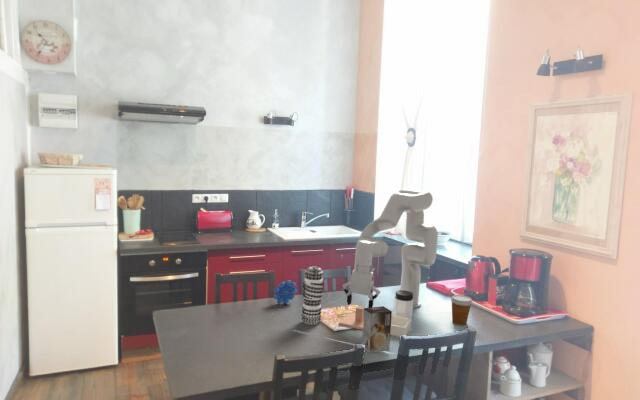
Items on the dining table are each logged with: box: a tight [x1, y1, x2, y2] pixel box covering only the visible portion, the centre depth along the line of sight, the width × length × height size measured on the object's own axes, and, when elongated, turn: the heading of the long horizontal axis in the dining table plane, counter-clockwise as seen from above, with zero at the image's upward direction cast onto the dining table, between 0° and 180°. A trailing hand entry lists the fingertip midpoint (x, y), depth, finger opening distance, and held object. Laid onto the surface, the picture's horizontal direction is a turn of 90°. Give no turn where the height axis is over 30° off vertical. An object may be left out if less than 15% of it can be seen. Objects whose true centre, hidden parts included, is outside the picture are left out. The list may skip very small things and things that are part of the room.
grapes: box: [273, 279, 298, 305], centre depth 232 cm, size 12×7×12 cm, turn 110°
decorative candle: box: [301, 265, 325, 326], centre depth 208 cm, size 9×9×25 cm
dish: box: [390, 314, 413, 338], centre depth 204 cm, size 12×12×5 cm
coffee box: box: [361, 306, 393, 354], centre depth 185 cm, size 9×6×16 cm
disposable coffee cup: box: [450, 294, 473, 326], centre depth 219 cm, size 10×10×12 cm
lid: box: [338, 305, 366, 331], centre depth 211 cm, size 14×14×7 cm
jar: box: [392, 290, 414, 320], centre depth 222 cm, size 9×8×12 cm
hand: (359, 306), depth 210 cm, fingers open, 9 cm apart
